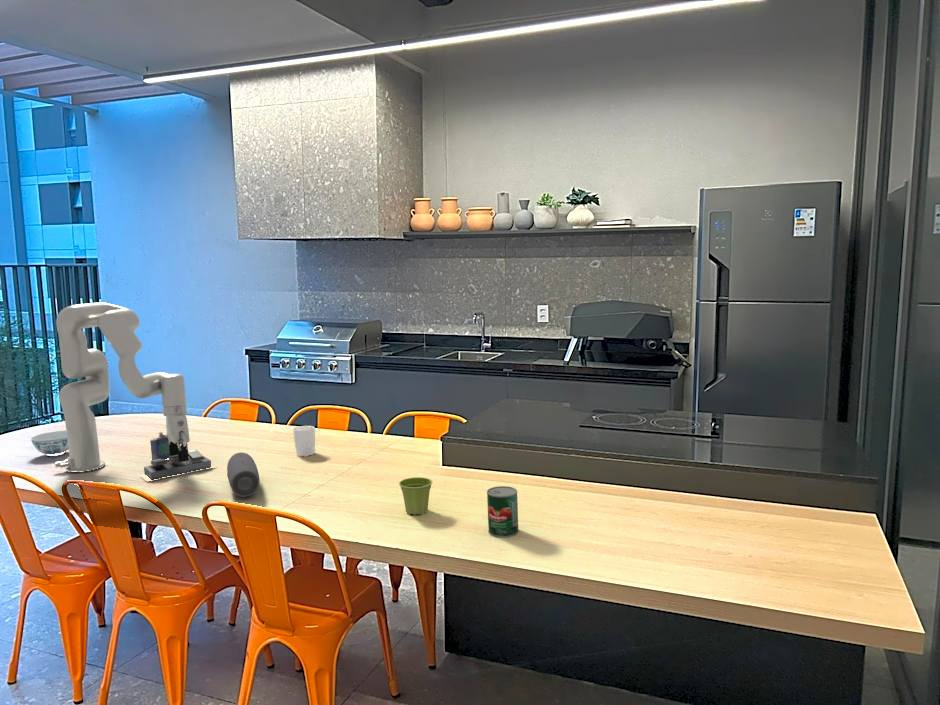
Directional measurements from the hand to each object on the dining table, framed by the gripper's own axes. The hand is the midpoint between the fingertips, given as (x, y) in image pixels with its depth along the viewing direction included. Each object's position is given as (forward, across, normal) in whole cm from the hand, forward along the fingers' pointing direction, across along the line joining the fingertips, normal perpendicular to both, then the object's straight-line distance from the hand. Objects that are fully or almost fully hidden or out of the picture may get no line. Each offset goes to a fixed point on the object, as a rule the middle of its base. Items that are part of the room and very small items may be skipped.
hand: (179, 458), depth 248 cm
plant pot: (+5, -89, -38) cm, 97 cm away
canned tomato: (+5, -118, -45) cm, 126 cm away
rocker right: (+1, +2, -6) cm, 6 cm away
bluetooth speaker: (+5, -34, -9) cm, 36 cm away
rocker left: (+1, +2, +6) cm, 7 cm away
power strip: (+5, +2, 0) cm, 6 cm away
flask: (+6, +21, 0) cm, 22 cm away
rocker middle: (+1, +2, 0) cm, 2 cm away
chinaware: (+6, +62, +28) cm, 68 cm away
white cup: (+5, -10, -42) cm, 44 cm away
